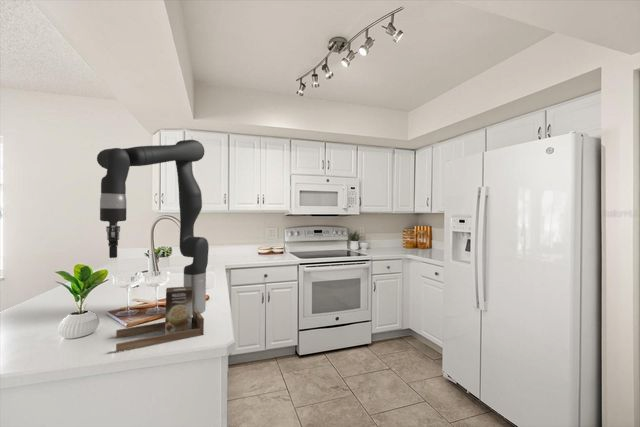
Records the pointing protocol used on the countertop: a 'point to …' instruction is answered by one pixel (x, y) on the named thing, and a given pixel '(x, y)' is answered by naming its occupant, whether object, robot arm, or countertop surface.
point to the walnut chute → (196, 321)
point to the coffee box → (178, 309)
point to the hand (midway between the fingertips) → (113, 257)
